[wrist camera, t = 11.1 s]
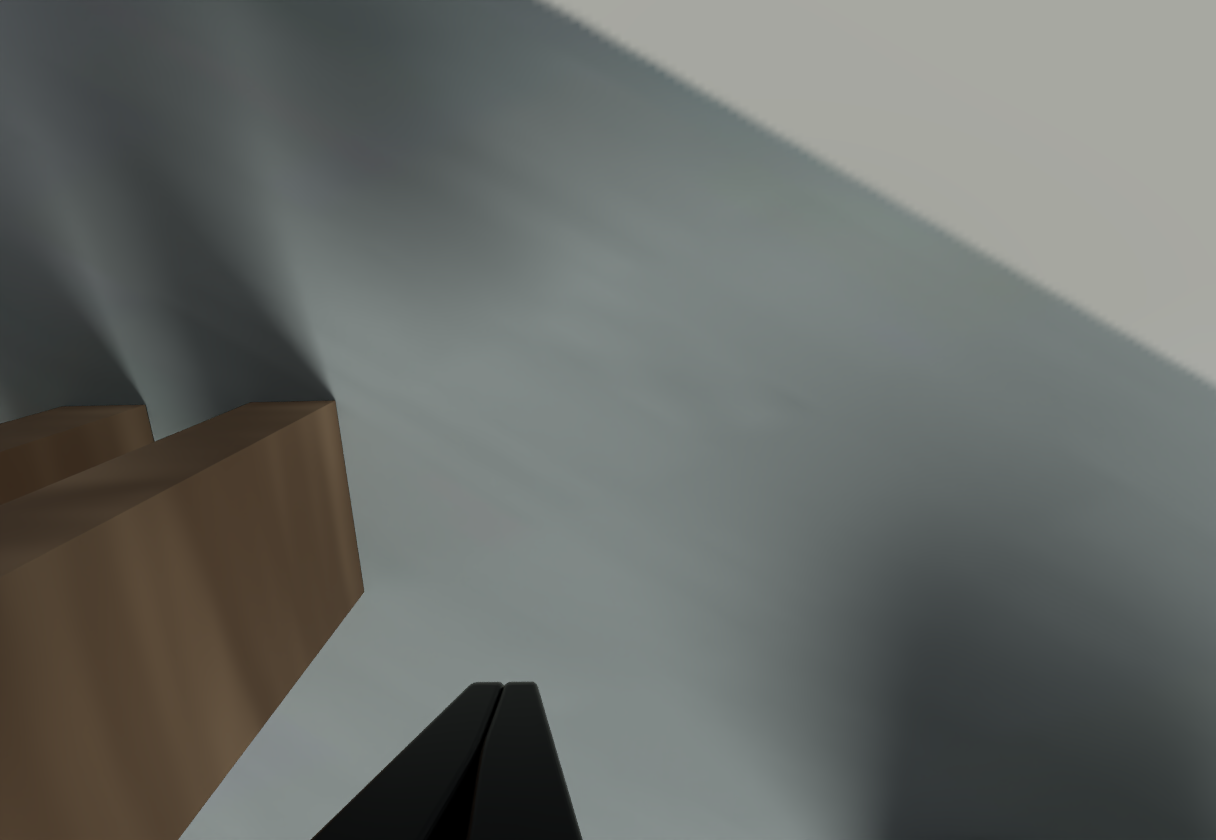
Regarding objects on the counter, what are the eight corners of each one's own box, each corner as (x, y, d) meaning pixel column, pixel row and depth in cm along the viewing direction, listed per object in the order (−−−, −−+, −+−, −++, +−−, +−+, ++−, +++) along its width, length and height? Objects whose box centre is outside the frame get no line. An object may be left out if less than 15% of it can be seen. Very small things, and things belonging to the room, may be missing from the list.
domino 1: (335, 400, 14) (-278, 723, 4) (364, 591, 15) (-61, 1156, 6) (250, 402, 14) (-536, 725, 5) (286, 592, 16) (-261, 1155, 6)
